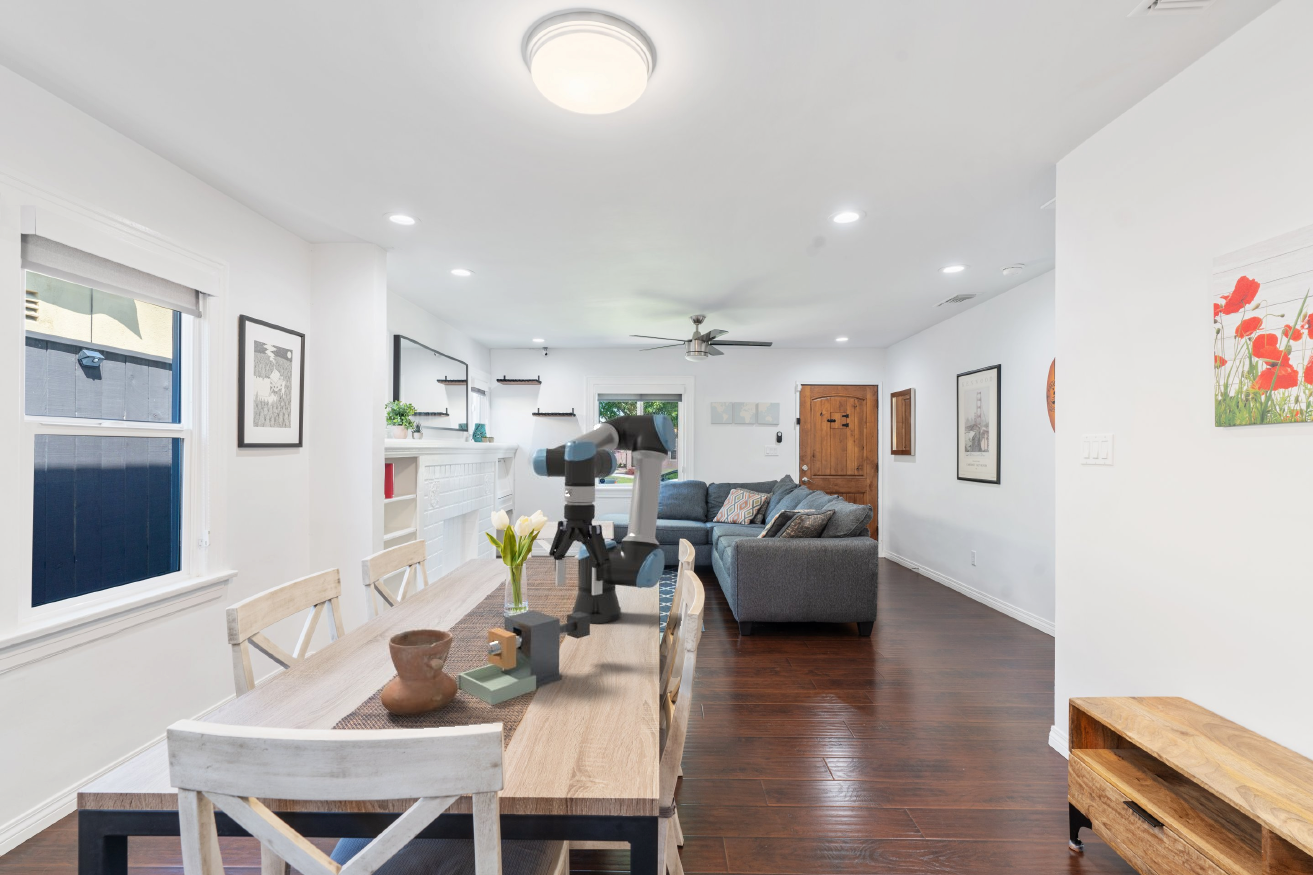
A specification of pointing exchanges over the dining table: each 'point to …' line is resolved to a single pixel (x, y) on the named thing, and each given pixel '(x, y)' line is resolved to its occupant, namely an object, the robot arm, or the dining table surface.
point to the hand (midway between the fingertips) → (578, 589)
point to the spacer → (503, 648)
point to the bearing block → (535, 647)
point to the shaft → (574, 627)
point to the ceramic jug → (419, 673)
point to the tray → (494, 684)
